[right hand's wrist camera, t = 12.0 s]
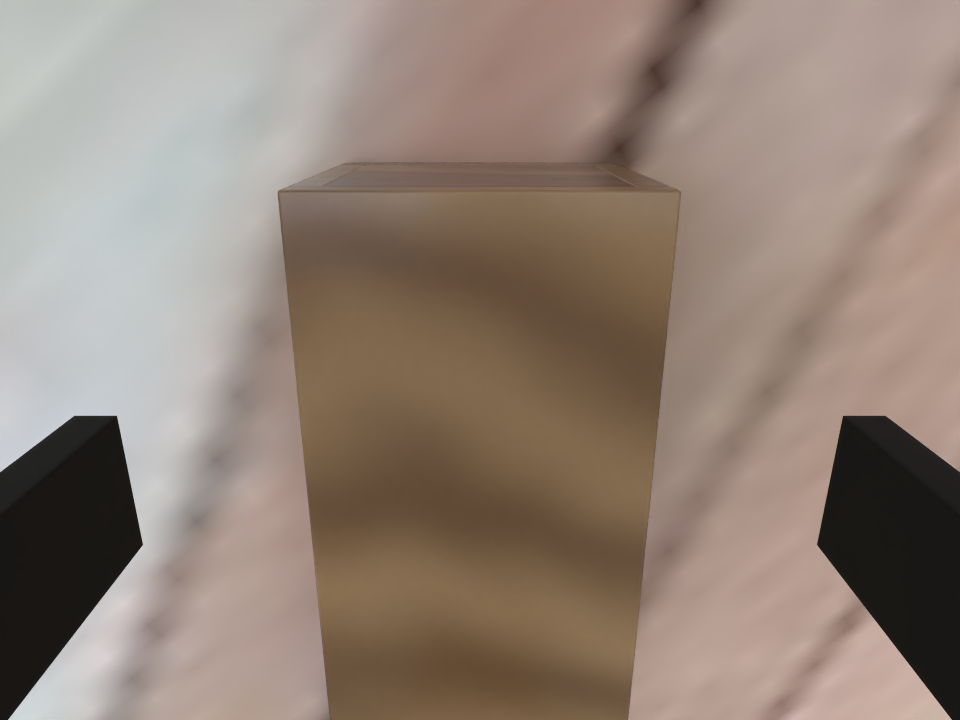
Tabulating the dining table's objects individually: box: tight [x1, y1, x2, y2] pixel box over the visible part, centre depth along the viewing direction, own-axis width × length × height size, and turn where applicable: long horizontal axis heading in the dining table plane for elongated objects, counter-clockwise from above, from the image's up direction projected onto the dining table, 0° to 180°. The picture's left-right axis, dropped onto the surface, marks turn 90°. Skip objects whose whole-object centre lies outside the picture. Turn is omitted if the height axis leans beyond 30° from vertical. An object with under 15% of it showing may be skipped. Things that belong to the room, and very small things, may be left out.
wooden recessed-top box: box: [278, 163, 681, 720], centre depth 25 cm, size 20×10×9 cm, turn 0°
